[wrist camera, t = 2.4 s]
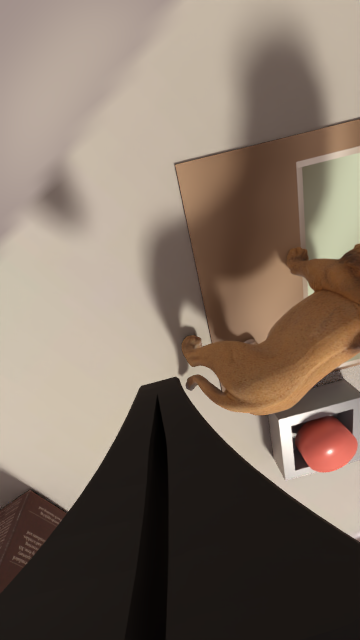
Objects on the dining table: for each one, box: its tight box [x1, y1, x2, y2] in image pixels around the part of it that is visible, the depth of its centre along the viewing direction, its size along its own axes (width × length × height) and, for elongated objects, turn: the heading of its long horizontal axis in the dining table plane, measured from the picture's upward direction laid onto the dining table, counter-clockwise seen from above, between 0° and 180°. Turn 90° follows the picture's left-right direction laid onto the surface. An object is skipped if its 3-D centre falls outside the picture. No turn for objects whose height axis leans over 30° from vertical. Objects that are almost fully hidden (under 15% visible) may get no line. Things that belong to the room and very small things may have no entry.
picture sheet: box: [175, 119, 360, 392], centre depth 16 cm, size 18×15×1 cm
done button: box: [295, 416, 358, 472], centre depth 19 cm, size 4×4×2 cm
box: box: [0, 490, 67, 593], centre depth 18 cm, size 6×6×7 cm
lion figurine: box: [182, 243, 360, 415], centre depth 12 cm, size 15×5×9 cm, turn 139°
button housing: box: [268, 379, 360, 481], centre depth 20 cm, size 6×6×2 cm
